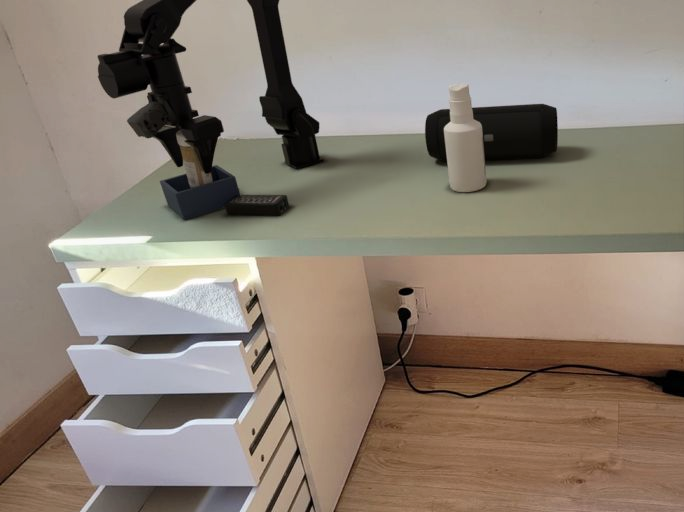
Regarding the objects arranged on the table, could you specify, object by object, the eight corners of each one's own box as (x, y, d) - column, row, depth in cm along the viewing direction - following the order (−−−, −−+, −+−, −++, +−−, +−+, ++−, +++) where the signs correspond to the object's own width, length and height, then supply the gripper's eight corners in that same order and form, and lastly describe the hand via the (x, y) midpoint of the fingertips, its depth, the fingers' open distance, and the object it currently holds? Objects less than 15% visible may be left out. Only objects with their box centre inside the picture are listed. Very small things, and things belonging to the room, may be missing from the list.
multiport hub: (238, 206, 135) (235, 194, 133) (290, 206, 132) (287, 194, 130) (226, 215, 131) (222, 203, 130) (279, 215, 128) (276, 203, 127)
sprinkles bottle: (220, 200, 137) (205, 133, 128) (196, 206, 135) (179, 138, 126) (212, 190, 140) (197, 124, 131) (189, 196, 138) (172, 129, 129)
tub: (224, 189, 144) (216, 164, 141) (242, 202, 136) (235, 176, 133) (168, 205, 139) (159, 180, 136) (184, 220, 131) (175, 194, 128)
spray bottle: (491, 180, 133) (483, 80, 123) (480, 193, 128) (471, 90, 118) (457, 179, 135) (446, 81, 126) (445, 192, 130) (433, 91, 120)
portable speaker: (428, 168, 142) (421, 118, 137) (437, 152, 150) (431, 104, 145) (555, 163, 137) (554, 111, 132) (558, 146, 146) (557, 96, 140)
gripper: (98, 91, 125) (129, 177, 134) (154, 99, 115) (184, 191, 123) (154, 76, 132) (180, 158, 141) (212, 83, 122) (237, 171, 130)
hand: (193, 169), depth 134 cm, fingers open, 9 cm apart
